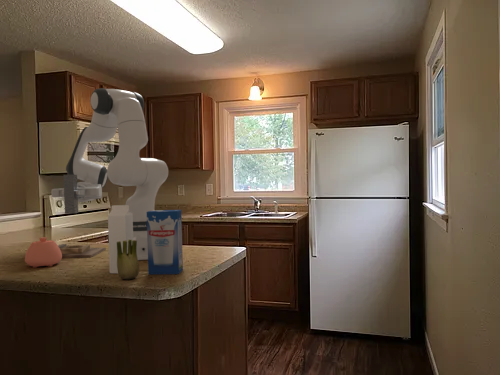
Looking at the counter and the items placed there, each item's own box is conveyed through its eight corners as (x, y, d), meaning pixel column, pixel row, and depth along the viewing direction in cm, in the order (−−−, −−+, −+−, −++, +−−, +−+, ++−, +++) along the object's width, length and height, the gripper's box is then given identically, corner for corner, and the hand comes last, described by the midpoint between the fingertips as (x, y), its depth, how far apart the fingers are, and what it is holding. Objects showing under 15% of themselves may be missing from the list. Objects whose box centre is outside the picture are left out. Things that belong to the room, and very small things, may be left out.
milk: (127, 273, 138) (125, 205, 137) (109, 273, 139) (107, 205, 138) (134, 269, 144) (132, 204, 143) (117, 269, 145) (115, 204, 144)
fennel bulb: (115, 280, 129) (114, 240, 128) (124, 276, 133) (123, 238, 133) (133, 281, 127) (132, 241, 127) (141, 277, 132) (140, 238, 132)
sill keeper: (105, 249, 188) (105, 242, 188) (91, 257, 170) (91, 249, 170) (55, 251, 187) (55, 244, 187) (35, 258, 169) (35, 251, 169)
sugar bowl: (21, 270, 148) (20, 240, 148) (30, 262, 162) (29, 235, 161) (59, 267, 151) (58, 238, 151) (65, 260, 165) (64, 234, 165)
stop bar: (78, 212, 180) (76, 174, 180) (74, 213, 176) (73, 174, 176) (68, 212, 180) (67, 175, 180) (64, 213, 176) (63, 174, 176)
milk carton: (148, 274, 136) (146, 211, 135) (153, 270, 142) (151, 210, 142) (179, 274, 135) (177, 211, 135) (183, 269, 142) (181, 209, 141)
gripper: (58, 185, 190) (44, 186, 177) (104, 184, 191) (94, 184, 177) (59, 199, 191) (45, 201, 177) (105, 198, 191) (94, 199, 177)
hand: (70, 192), depth 177 cm, fingers closed on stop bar, 4 cm apart
